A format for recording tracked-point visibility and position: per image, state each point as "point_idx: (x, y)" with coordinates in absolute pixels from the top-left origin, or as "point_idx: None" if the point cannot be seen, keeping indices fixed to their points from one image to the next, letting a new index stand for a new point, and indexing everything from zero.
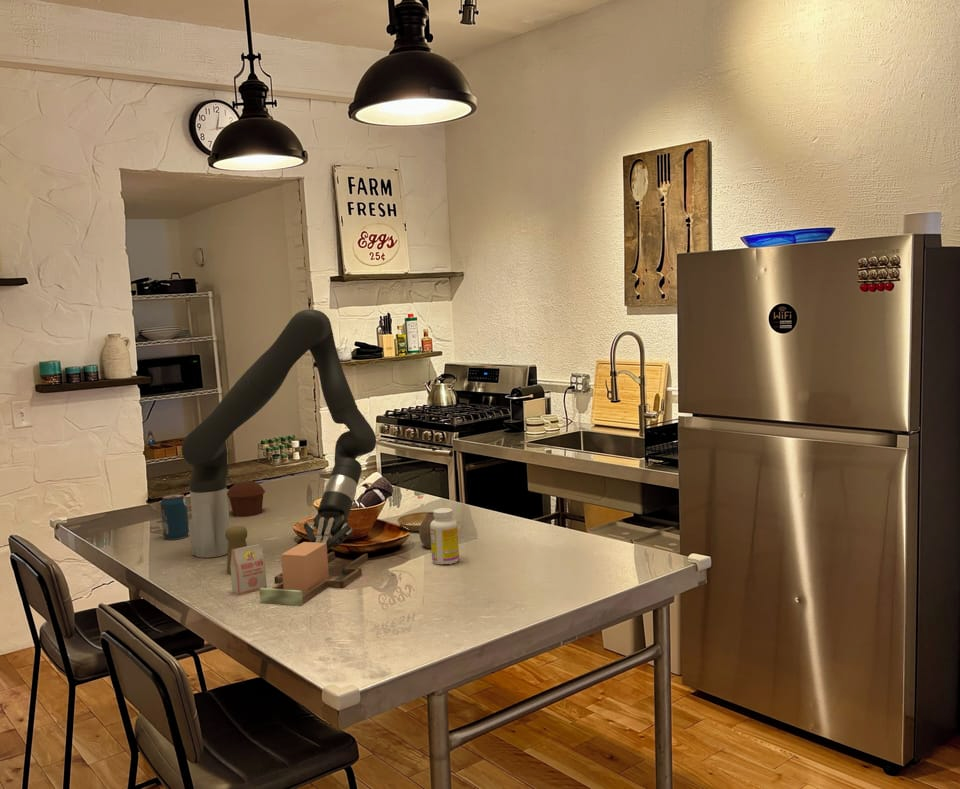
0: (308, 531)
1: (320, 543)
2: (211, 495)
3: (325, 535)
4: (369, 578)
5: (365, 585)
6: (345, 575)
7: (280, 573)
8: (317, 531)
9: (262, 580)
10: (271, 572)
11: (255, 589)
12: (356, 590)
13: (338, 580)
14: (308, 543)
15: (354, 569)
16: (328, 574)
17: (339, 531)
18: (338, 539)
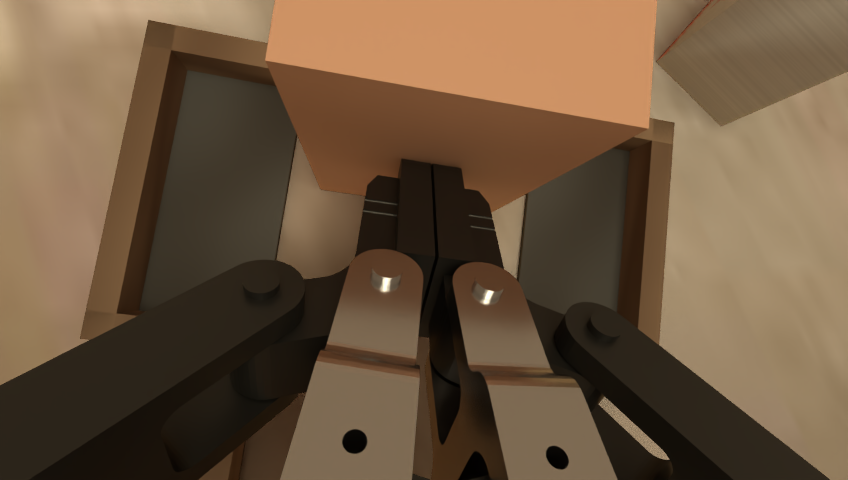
0: (770, 471)
1: (358, 41)
2: None
3: (392, 363)
4: (20, 253)
5: (11, 101)
6: None
7: (668, 194)
8: (585, 422)
9: (707, 19)
10: (760, 338)
11: (699, 14)
12: (53, 2)
13: (189, 47)
14: (542, 45)
15: (139, 314)
16: (316, 177)
17: (53, 445)
18: (202, 443)
